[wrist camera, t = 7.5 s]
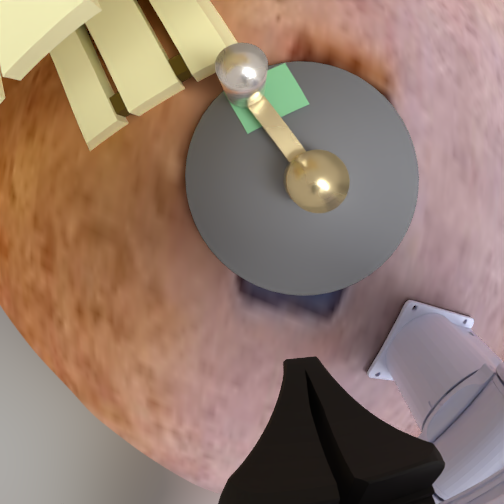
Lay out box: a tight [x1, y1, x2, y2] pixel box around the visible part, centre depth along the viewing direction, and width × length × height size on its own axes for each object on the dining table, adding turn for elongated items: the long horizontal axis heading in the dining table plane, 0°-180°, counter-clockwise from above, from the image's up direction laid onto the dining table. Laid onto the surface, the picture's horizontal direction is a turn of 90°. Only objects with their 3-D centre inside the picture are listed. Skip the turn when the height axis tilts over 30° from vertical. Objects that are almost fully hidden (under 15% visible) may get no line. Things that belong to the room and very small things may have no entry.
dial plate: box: [185, 61, 419, 296], centre depth 19 cm, size 16×16×1 cm
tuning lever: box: [215, 43, 350, 213], centre depth 15 cm, size 10×4×5 cm, turn 36°
